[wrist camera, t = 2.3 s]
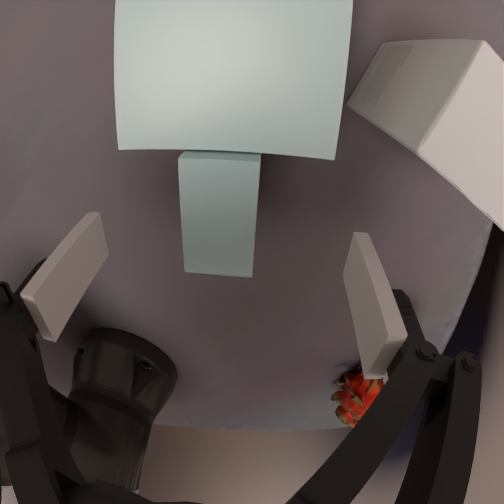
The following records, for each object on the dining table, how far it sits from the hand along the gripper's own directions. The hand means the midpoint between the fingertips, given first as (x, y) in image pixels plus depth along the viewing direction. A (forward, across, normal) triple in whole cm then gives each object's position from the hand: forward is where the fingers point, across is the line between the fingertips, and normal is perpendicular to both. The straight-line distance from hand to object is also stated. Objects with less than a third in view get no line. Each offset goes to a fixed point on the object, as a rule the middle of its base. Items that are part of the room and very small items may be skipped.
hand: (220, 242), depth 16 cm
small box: (+11, -12, -7) cm, 18 cm away
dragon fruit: (+11, -18, +27) cm, 34 cm away
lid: (+7, 0, -9) cm, 11 cm away
